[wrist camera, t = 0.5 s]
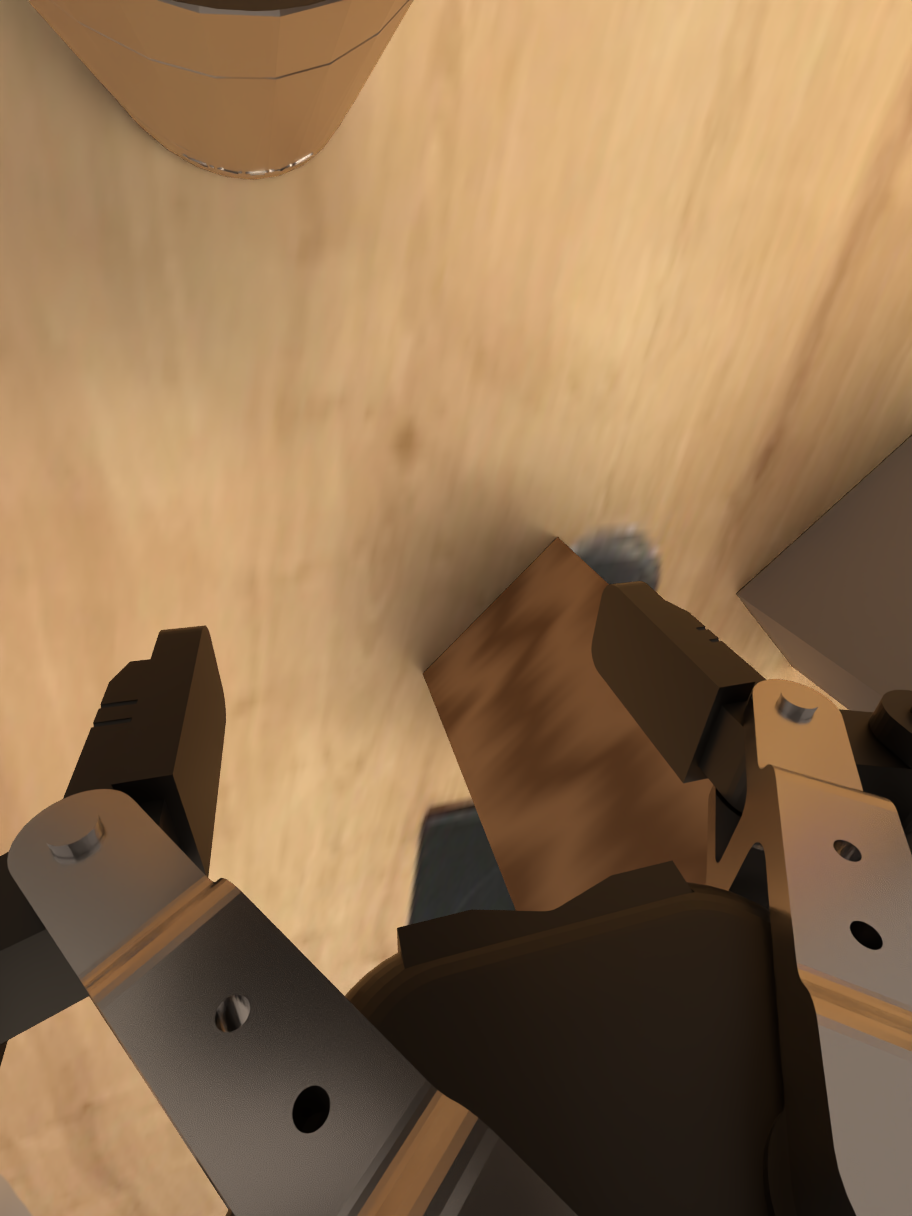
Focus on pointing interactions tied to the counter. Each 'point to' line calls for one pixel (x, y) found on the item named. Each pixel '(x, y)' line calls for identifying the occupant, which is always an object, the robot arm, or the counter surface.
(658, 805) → the wood grain block
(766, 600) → the stand
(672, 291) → the counter surface
